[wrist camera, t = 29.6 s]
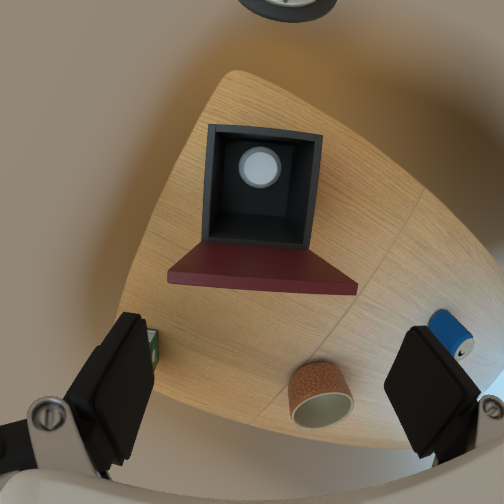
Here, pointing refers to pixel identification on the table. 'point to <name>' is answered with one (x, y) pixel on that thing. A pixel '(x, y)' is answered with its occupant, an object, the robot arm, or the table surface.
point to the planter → (319, 396)
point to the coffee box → (153, 346)
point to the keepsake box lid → (259, 270)
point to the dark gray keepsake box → (260, 199)
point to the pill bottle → (260, 167)
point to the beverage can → (452, 334)
